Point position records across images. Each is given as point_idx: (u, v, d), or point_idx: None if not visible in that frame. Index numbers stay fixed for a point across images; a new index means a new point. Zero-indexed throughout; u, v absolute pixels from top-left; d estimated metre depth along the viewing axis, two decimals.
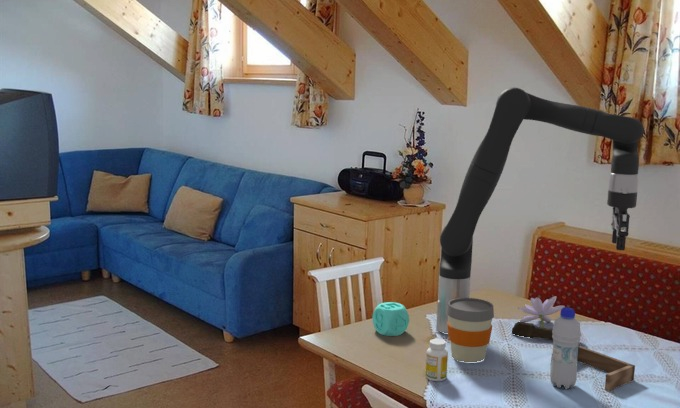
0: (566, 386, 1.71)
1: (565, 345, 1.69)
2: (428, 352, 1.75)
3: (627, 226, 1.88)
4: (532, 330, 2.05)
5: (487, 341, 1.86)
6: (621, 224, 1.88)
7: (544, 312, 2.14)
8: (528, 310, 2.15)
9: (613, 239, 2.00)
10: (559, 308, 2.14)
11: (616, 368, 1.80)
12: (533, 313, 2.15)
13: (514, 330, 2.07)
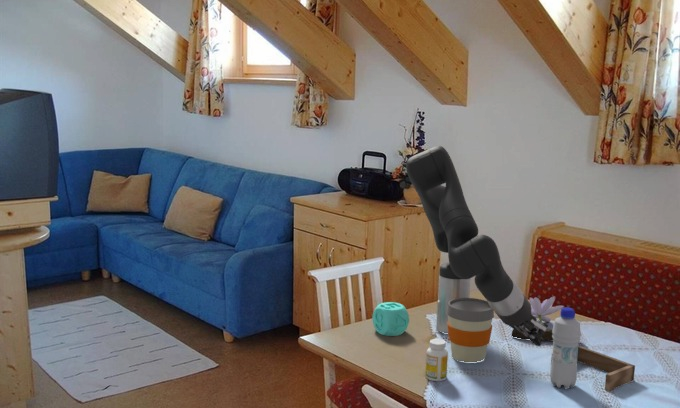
0: (566, 386, 1.71)
1: (565, 345, 1.69)
2: (428, 352, 1.75)
3: None
4: None
5: (487, 341, 1.86)
6: None
7: (543, 312, 2.14)
8: None
9: None
10: (558, 308, 2.14)
11: (616, 368, 1.80)
12: (532, 313, 2.15)
13: (514, 333, 2.05)
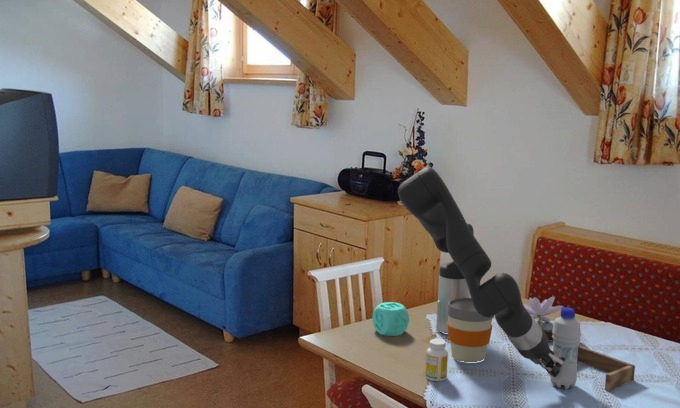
0: (566, 386, 1.71)
1: (565, 345, 1.69)
2: (428, 352, 1.75)
3: None
4: None
5: (487, 341, 1.86)
6: None
7: (543, 312, 2.14)
8: None
9: None
10: (557, 308, 2.14)
11: (616, 368, 1.80)
12: (531, 313, 2.15)
13: None
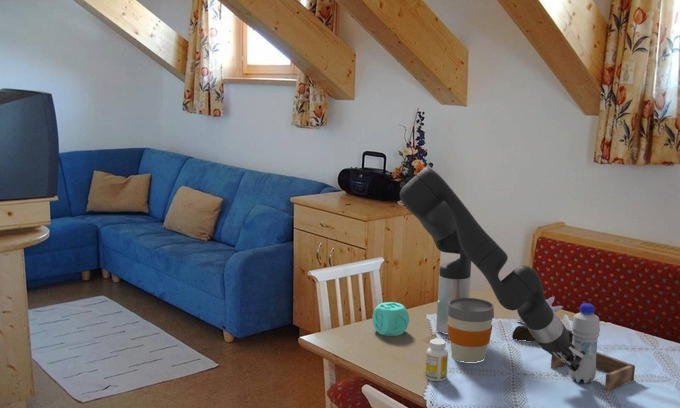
0: (585, 380, 1.74)
1: (584, 340, 1.73)
2: (428, 352, 1.75)
3: None
4: None
5: (487, 341, 1.86)
6: (579, 361, 1.67)
7: None
8: None
9: None
10: (557, 308, 2.14)
11: (616, 368, 1.80)
12: None
13: (515, 334, 2.04)
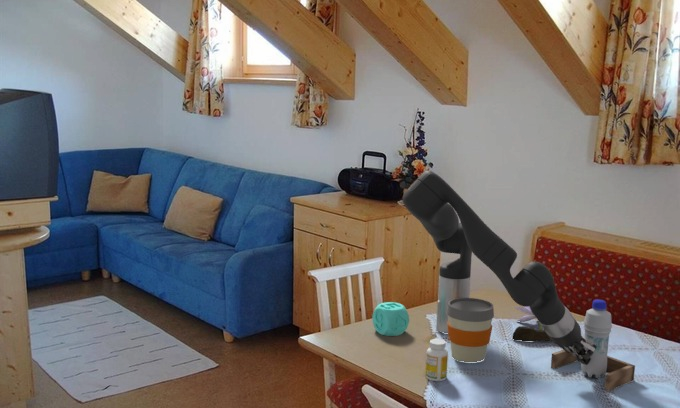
0: (597, 375, 1.77)
1: (597, 336, 1.76)
2: (428, 352, 1.75)
3: None
4: (534, 334, 2.02)
5: (487, 341, 1.86)
6: (590, 355, 1.70)
7: None
8: (525, 310, 2.15)
9: None
10: None
11: (616, 368, 1.80)
12: (531, 313, 2.15)
13: (515, 335, 2.03)
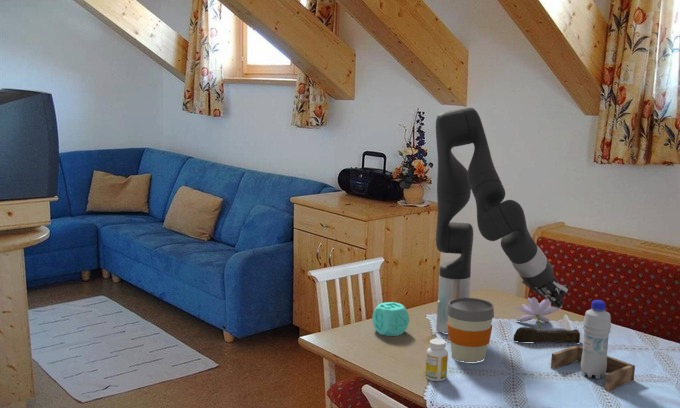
0: (597, 376, 1.77)
1: (596, 336, 1.76)
2: (428, 352, 1.75)
3: None
4: (535, 334, 2.01)
5: (487, 341, 1.86)
6: (563, 296, 1.67)
7: (541, 312, 2.14)
8: (525, 310, 2.15)
9: None
10: (556, 308, 2.14)
11: (616, 368, 1.80)
12: (530, 313, 2.15)
13: (516, 336, 2.02)
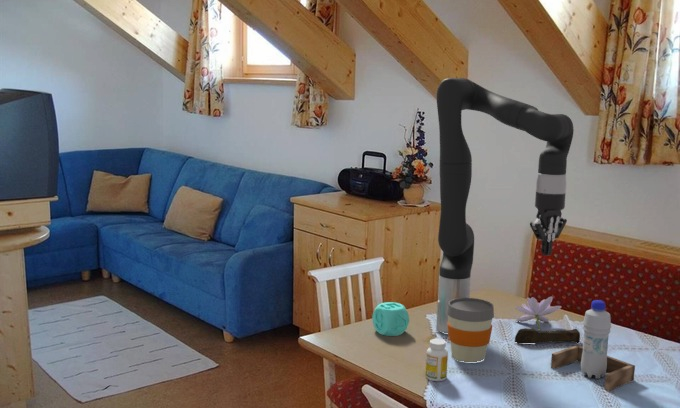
0: (597, 376, 1.77)
1: (596, 336, 1.76)
2: (428, 352, 1.75)
3: None
4: (536, 335, 2.01)
5: (487, 341, 1.86)
6: None
7: (541, 312, 2.14)
8: (524, 310, 2.15)
9: None
10: (555, 308, 2.14)
11: (616, 368, 1.80)
12: (529, 313, 2.15)
13: (518, 338, 2.01)
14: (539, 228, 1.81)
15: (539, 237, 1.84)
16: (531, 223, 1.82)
